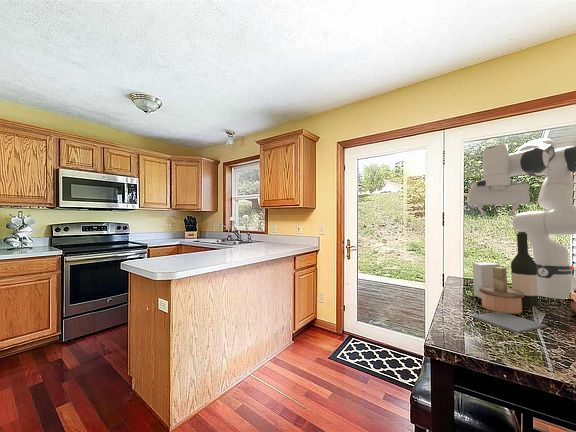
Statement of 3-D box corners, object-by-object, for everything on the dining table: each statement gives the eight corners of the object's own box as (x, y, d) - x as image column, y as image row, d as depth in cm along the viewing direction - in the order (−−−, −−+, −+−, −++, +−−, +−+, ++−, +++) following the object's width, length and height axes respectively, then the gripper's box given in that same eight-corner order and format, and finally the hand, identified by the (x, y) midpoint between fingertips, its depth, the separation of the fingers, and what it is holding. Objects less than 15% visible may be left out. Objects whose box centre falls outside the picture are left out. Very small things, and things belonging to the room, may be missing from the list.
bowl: (495, 302, 107) (494, 288, 108) (529, 311, 96) (529, 295, 96) (475, 305, 104) (474, 290, 104) (508, 315, 92) (507, 298, 92)
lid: (494, 287, 108) (493, 264, 109) (533, 295, 96) (531, 269, 96) (471, 290, 104) (470, 266, 105) (508, 299, 91) (507, 272, 92)
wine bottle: (517, 305, 103) (513, 232, 104) (508, 299, 111) (505, 231, 112) (544, 307, 100) (540, 231, 101) (533, 301, 108) (529, 231, 109)
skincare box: (492, 295, 117) (490, 262, 118) (502, 300, 111) (501, 264, 111) (473, 295, 118) (471, 262, 118) (482, 299, 111) (480, 264, 112)
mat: (499, 312, 95) (499, 311, 95) (546, 326, 82) (546, 324, 82) (472, 317, 91) (471, 315, 91) (517, 333, 78) (517, 331, 78)
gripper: (525, 182, 104) (526, 215, 103) (465, 185, 113) (466, 216, 112) (532, 179, 98) (533, 214, 98) (469, 183, 107) (470, 215, 106)
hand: (497, 215), depth 105 cm, fingers open, 8 cm apart
